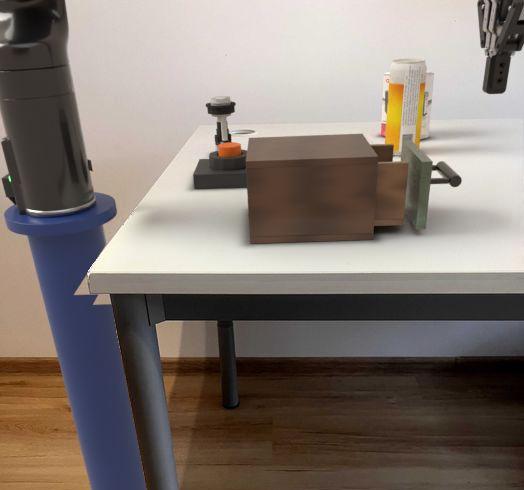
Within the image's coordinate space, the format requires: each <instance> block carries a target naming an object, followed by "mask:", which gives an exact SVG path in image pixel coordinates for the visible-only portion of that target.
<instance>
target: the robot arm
mask: <svg viewBox="0 0 524 490" xmlns="http://www.w3.org/2000/svg"><path fill="white" fill-rule="evenodd" d="M476 4H477V5H476V7H477V19H478V30H479V45H480V48H481V49H484V50H483V51H484V56H485V57H486V59H485V66H484V73H483V74H484V75H483V81H482V87H481V88H482V92H483V93H485V94H487V95H503V94H504V93H505V92H506V90H507V86H508V80H509V73H510V66H511V60H512V57H514V56H515V54H516V52H521V51H522V50H523V48H524V0H478V1H477V3H476ZM69 25H70V23H69V17H68V10H67V3H66V0H0V117H1V122H2V125H3V129H4V133H5V136H3V137H2V138H1V139H0V145H1V149H2V153H3V156H4V161H5V164H6V169H7V174H5V175H4V176H2V177H1V184H2V186H3V191H4V194H5V198H8V200H10V202H12V204H13V205H14V204H15V205H17V208H18V212H19V215H29V216H33V217H41V218H53V217H63V216H69V215H74V214H78V213H81V212H84V211H86V210H89V209H91V208H92V207H94V206H95V205H96V198H95V195H94V192H95V191H94V186H93V182H92V176H91V172H94V170H93V163H92V159H91V160H90V159H88V154H87V148H86V143H85V142H86V141H85V138H84V132H83V127H82V122H81V116H80V110H79V104H78V100H77V95H76V88H75V84H74V83H75V82H74V78H73V73H72V67H71V64H70V57H69V38H70V26H69Z"/></svg>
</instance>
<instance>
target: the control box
mask: <svg viewBox="0 0 524 490" xmlns="http://www.w3.org/2000/svg"><path fill="white" fill-rule="evenodd" d="M246 156H247V149H242V148H241V155H240V156H234V157H221V156H219V154H218V151H215V150H214V151H212V152H210V153H209V154H208V158H199V159H198V161H197V164H196V166H195V168H194V172H193V173H192V176H193V177H192V178H193V189H194V190H201V189H202V190H203V189H205V190H206V189H229V188H230V189H231V188H232V189H233V188H247V176H246Z"/></svg>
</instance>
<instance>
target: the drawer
mask: <svg viewBox="0 0 524 490" xmlns="http://www.w3.org/2000/svg"><path fill="white" fill-rule="evenodd" d="M369 144H370V145H371V147H372V148H373V150H374V151H375V153H376V154H377V155H378V171H377V187H376V203H375V219H374V227H383V226H384V227H385V226H386V227H387V226H389V227H390V226H404V221H405V215H406V216H407V218H408V219H409V221H410V223H411V224H412V225H413V227H414V229H415V230H425V229H426V228H427V221H428V212H429V211H428V210H429V200H430V192H431V185H446V184H447V185H450V187H452V188H457V187H459V186H461V184H462V181H463V180H462V179H463V178H462V176H461V175H459V174H458V173H457V172H456V171H455V170H454V169H453V168H452V167H451V166H450V165H449V164H448V163H447V162H445V161H443V160H441V161H438V162H437V163H436V164H434V162H433V160H432V159H431V158H430V157H429V156H428V155H427V154H426V153H425V152H424V151H423V150H422V149H421V148H420V146H419V147H418V146H417V145H416V144H415V143H414V142H413V141H412V140H403V141H402V150H401V156H400V160H399V161H398V160H396V161H394V160H393V159H394V155H393V150H394V145H393V144H385V143H374V144H373V143H369ZM433 172H437V173H438V174H439V175H440V176H441V177H432V174H433Z"/></svg>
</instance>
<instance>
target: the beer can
mask: <svg viewBox="0 0 524 490" xmlns="http://www.w3.org/2000/svg"><path fill="white" fill-rule="evenodd" d="M427 71H428V66H427V64H426V59H423V58H398V59H393V60H392V63H391V65H390V67H389V72H390V74H389V89H388V104H387V119H386V134H385V136H384V144H393V145H394V150H393V156H399V157H401V150H402V141H403V140H412V141H413V142H414V143H415V144H416V145H417V146H418V147H419V148H420V145H421V144H420V143H421V139H420V135H421V124H422V114H423V103H424V93H425V83H426V72H427Z"/></svg>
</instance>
